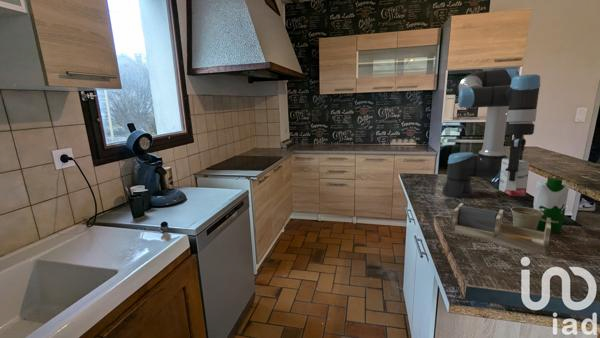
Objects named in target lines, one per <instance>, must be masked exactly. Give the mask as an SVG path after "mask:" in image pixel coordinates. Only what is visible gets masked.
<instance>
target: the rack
mask: <svg viewBox="0 0 600 338" xmlns="http://www.w3.org/2000/svg"><path fill="white" fill-rule="evenodd" d="M503 218H504V209H501V208H500V209H499V211H496V210H490V209H483V208H479V207H473V206H467V205H464V202H460V203H459V204H458V205H457V206H456V207H455V208H454V210H453V211H452V222H451V232H450V233H451V234H452V233H455V234H454V235H456V234H460V235H459V236H461V235H464V236H463V237H465V236H468V237H467V238H469V237H472V238H471V239H473V238H476V239H475V240H477V239H480V240H479V241H482V240H484V241H483V242H486V241H487V242H486V243H491V244H495V245H500V246H503V247H506V248H507V247H508V248H510V249H511V248H512V249H516V250H519V251H524V252H528V253H534V254H537V255H540V256H541V255H542V256H546V257H547V254H548V251H549V249H548V248H549V244H550V236H551V232H550V231H551V218H549V217H547V219H546V226H545V231H541V230H531V229H526V228H521V227H516V226H513V225H510V224H504V223H503Z"/></svg>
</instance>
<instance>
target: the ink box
mask: <svg viewBox="0 0 600 338" xmlns="http://www.w3.org/2000/svg"><path fill="white" fill-rule="evenodd" d="M530 163H531V162H530V161H525V160H523V159H522V160H519V166H518V178H517V186H516V191H513V190H506V183H507V175H508V171H505V169H506V168H508V164H509V159H502V165H501V175H500V178H499V184H498V190H499V191H500V192H502V193H505V194H507V195H509V196H516V197H517V196H519V197H521V196H522V197H526V195H527V190H528V189H527V188H528V179H529V174H530V173H529V172H530Z"/></svg>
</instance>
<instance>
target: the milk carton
mask: <svg viewBox="0 0 600 338" xmlns="http://www.w3.org/2000/svg"><path fill="white" fill-rule="evenodd" d="M569 189H570V187H569V186H568V185H567V184H566V183H564V182H563V179H560V178H555V177H554V178H553V177H550V178H548V177H547V180H536V187H535V189H534V190H535V192H534V196H533V204H532V209H536V210H539V211H541V212H543V213H544V215H543V216H542V217H541V219H540V220H539V223H538V226H537V229H536V231H541V232H545V226H546V219H547V217H549V218H551V231H550V233H556V234H561V231H562V227H563V224H564V220H565V215H566V214H565V212H566V208H567V201H568V195H569Z"/></svg>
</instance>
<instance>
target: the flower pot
mask: <svg viewBox="0 0 600 338" xmlns="http://www.w3.org/2000/svg"><path fill="white" fill-rule="evenodd" d="M510 211H511V214H512V223H513V224H512V226H516V227H521V228H526V229H531V230H536V229H537V226H538V223H539V220H540V219H541V217H542V216H543V215H544V213H543V212H541V211H539V210H536V209H533V207H525V206H514V207H511V208H510ZM536 231H537V230H536Z"/></svg>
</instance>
